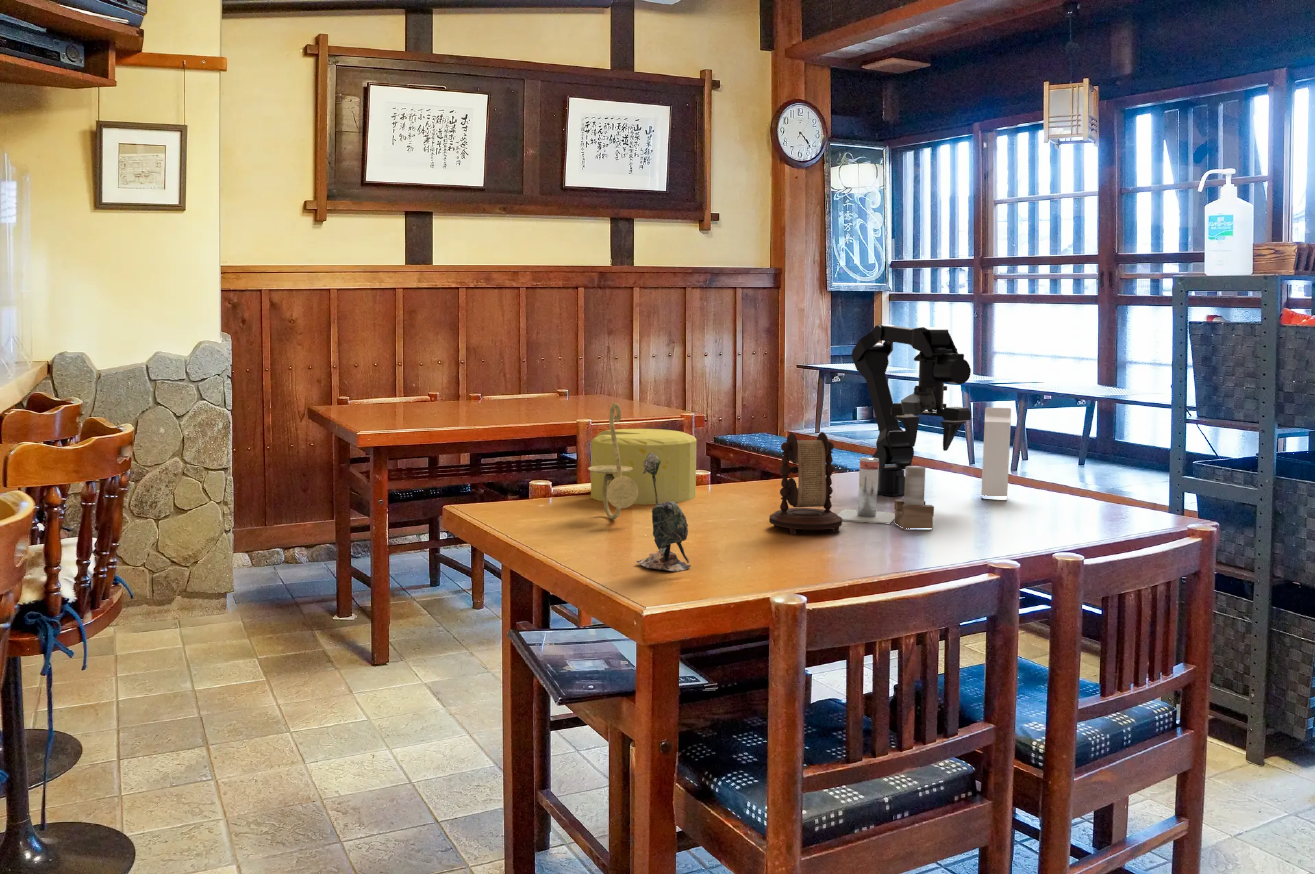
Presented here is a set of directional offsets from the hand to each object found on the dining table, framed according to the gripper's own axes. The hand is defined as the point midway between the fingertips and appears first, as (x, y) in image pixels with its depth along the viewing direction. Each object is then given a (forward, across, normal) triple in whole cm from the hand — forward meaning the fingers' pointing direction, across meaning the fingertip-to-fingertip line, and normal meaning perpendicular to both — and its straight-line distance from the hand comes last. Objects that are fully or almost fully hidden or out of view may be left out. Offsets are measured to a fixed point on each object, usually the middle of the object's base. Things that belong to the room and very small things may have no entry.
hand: (928, 448), depth 256 cm
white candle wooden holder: (+13, +16, -26) cm, 33 cm away
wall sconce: (+13, -28, -71) cm, 77 cm away
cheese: (+13, -49, -46) cm, 69 cm away
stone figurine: (+13, +13, -91) cm, 93 cm away
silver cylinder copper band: (+13, +3, -25) cm, 28 cm away
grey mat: (+13, +3, -25) cm, 29 cm away
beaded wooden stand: (+13, +4, -46) cm, 48 cm away
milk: (+13, +5, +20) cm, 24 cm away
